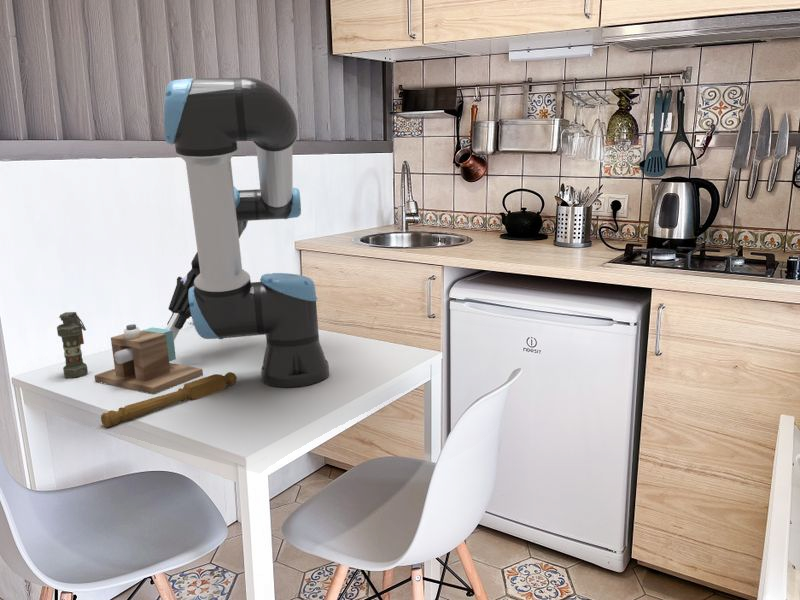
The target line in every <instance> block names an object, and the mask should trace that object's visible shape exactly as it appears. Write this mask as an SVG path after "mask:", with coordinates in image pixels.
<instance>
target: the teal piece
mask: <svg viewBox="0 0 800 600" xmlns="http://www.w3.org/2000/svg"><path fill="white" fill-rule="evenodd" d="M141 331H146V332H153V333H160V334H166V340H167V348H168V357H169V363H171V362H173V361H175V360H177V356H176V350H175V349H176V348H175V347H176V346H175V340H174V338H173V330H167V329H166V328H159V327H158V328H157V327H153V326H152V327H148V328H145V329H143V330H141ZM114 358H115V361H116V362H117V363H118V364H122V363H125V362H128V361H131V360H133V352H132V347H130V348H127V349H124V350H121V351H117V352H115V354H114ZM114 358H113V359H114Z"/></svg>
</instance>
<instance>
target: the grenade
mask: <svg viewBox="0 0 800 600" xmlns="http://www.w3.org/2000/svg"><path fill="white" fill-rule="evenodd" d="M58 318H59V319H60V321H62V324H59V325H57V327H56V330H57V336H58V337H60V338H61V341H62V349H63V355H64V358H65V365H64V366H63V368H62V370H63V371H62V372H63V376H64V378H67V377H68V379H73V378H72V377H76V378H80V377H79V376H81V377H83V375H84V376H85V374H86V375H87V374H88V365H87V363H85V362H84V360H83V354H82V353H83V352H82V349H81V348H82V347H81V346H82V345H83V344H85V341H84V336H83V331H85V332H86V331H87V328H86V327H85V324H84V323H83V321H82V319H81V318H80V317H79V315H78V313H77V312H76V311H70V312H69V311H68V312H67V311H66V312H63V313H61V314H60V315H59V317H58Z"/></svg>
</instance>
